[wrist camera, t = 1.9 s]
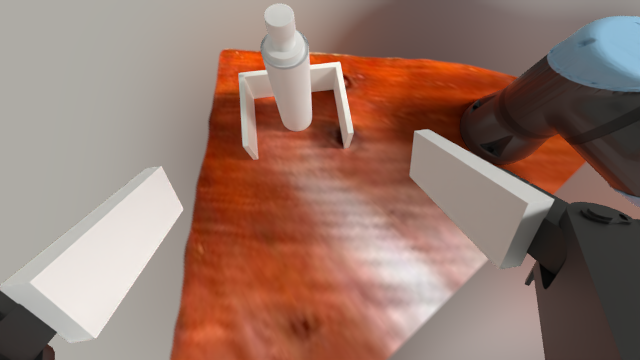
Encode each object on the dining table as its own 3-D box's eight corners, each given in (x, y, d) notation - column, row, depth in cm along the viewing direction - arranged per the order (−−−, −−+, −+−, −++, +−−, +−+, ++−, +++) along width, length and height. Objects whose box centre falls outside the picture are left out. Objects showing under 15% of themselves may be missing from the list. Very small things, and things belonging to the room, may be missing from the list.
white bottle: (294, 137, 48) (269, 34, 24) (275, 115, 49) (234, -3, 25) (318, 119, 49) (318, 4, 25) (299, 98, 50) (282, -30, 26)
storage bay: (337, 85, 51) (340, 61, 45) (348, 147, 48) (353, 132, 41) (249, 95, 51) (238, 73, 44) (253, 159, 47) (242, 146, 40)
